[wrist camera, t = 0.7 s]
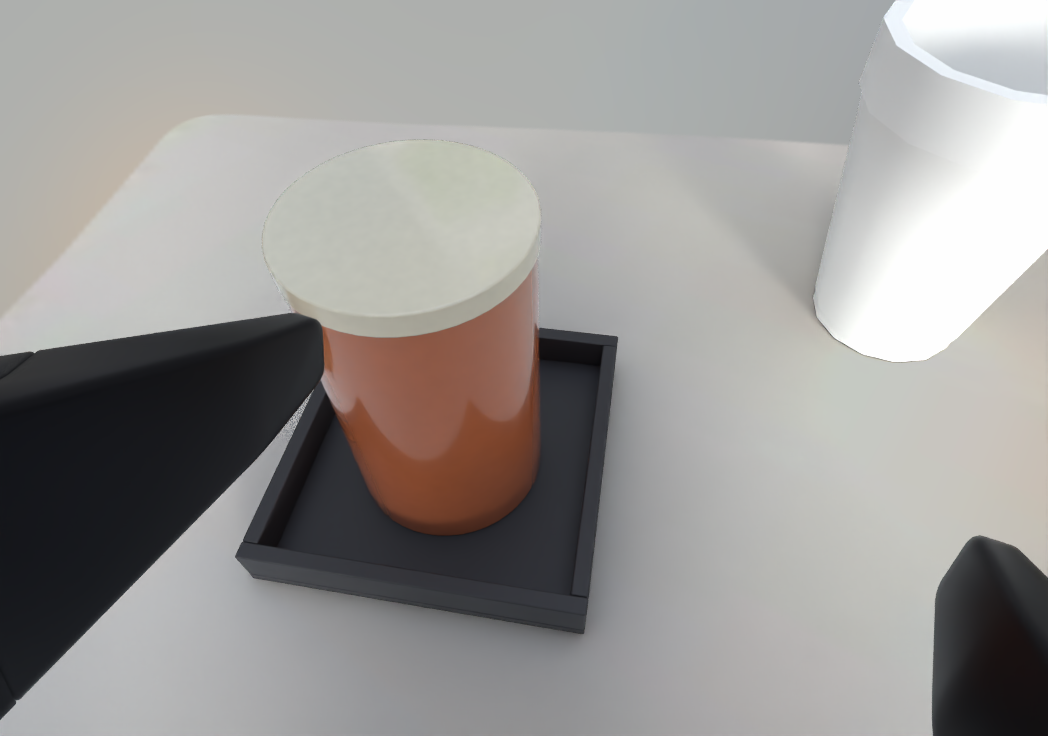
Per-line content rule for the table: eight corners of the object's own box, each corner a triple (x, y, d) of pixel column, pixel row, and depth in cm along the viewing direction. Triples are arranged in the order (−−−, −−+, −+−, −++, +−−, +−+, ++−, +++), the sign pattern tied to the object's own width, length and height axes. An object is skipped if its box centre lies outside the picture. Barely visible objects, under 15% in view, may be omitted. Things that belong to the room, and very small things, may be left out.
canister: (468, 576, 23) (416, 363, 14) (323, 475, 26) (200, 241, 17) (577, 433, 27) (594, 190, 18) (440, 357, 30) (392, 113, 21)
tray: (583, 634, 23) (586, 615, 21) (253, 578, 24) (233, 557, 23) (614, 363, 30) (618, 335, 29) (361, 334, 32) (352, 306, 30)
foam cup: (745, 270, 34) (829, 1, 24) (899, 231, 35) (1039, -37, 25) (858, 413, 28) (1034, 137, 18) (1036, 359, 30) (1289, 78, 19)
